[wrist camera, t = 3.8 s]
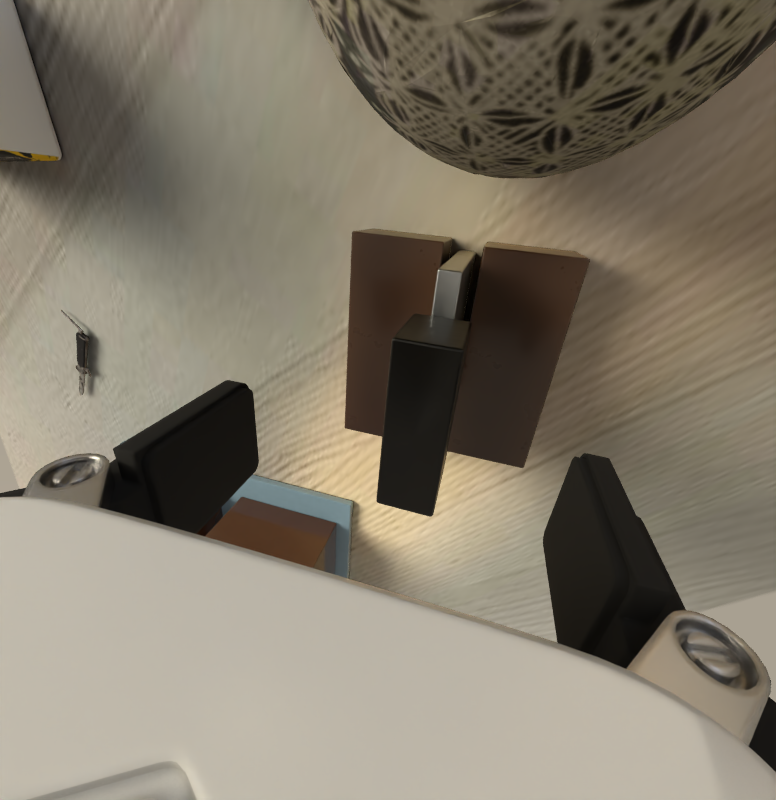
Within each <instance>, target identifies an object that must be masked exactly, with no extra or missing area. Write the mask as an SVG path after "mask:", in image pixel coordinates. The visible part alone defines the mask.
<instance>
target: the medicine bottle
mask: <svg viewBox="0 0 776 800" xmlns="http://www.w3.org/2000/svg"><path fill="white" fill-rule="evenodd" d="M61 157H62V153H61V150H60V147H59V144H58V140H57V137H56V134H55V131H54V128H53V125H52V121H51V118H50V115H49V112H48V109H47V106H46V102H45V99H44V96H43V93H42V90H41V86H40V83H39V80H38V77H37V74H36V71H35V67H34V64H33V61H32V58H31V55H30V52H29V48H28V45H27V42H26V39H25V36H24V33H23V29H22V26H21V23H20V20H19V17H18V14H17V10H16V7H15V4H14V1H13V0H0V161H57V160H60V159H61Z"/></svg>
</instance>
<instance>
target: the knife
mask: <svg viewBox="0 0 776 800" xmlns="http://www.w3.org/2000/svg"><path fill="white" fill-rule="evenodd" d="M61 312H62V313H63V314H64V315H65V316H66V317H67V318H68V319H69V320H70V321H71V322H72V323H73V324H74V325H75V326H76V327H77V328H78V329H79V330H78V333H76V340H77V361H78V366H76V369H77V370H78V372H79V373H80V376H79V392H80V395H82V394H83V393H84V383H85V374H87V373H88V374H89V376H90V377H91V374H90V372H89V370H88V368H87V357H88V340H89V338H88V337H87V335H85V334H84V333H83V330H82V329H81V328H80V327H79V326H78V325H77V324H76V323H75V322H73V321H72V320H71V319H70V318H69V317H68V316H67V315H66V314H65V313H64V312H63V311H62V310H61Z"/></svg>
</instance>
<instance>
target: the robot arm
mask: <svg viewBox="0 0 776 800" xmlns="http://www.w3.org/2000/svg"><path fill="white" fill-rule="evenodd" d="M113 450H114V454H115V457H116V459H115V460H114V461H112V462H111V463H109V460H108V459H107V458H106V457H105V456H102V455H99V454H91V453H87V454H77V455H72V456H68V457H64V458H62V459H59V460H56V461H54V462H52V463H50V464H48V465H46V466H44V467H43V468H41V469H40V470H38V471H37V472H36V473H35V474H34V476H33V477H32V478H31V480H30V482H29V484H28V486H27V488H23V489H18V490H13V491H9V492H4V493H0V800H776V702H774V701H773V700H772V699H771V698H770V697H769V695H770V689H771V680H770V677H769V675H768V672H767V670H766V667H765V666H764V664H763V663H762V661H761V660H760V658H759V657H758V656H757V654H756V653H755V652H754V651H753V650H752V649H751V648H750V647H749V646H748V645H747V643H746V642H745V641H744V640H743V639H741V638H740V637H739V636H738V635H736V634H735V633H734V632H733V631H731V630H730V629H729V628H727V627H725V626H724V625H722V624H721V623H719V622H717V621H716V620H714V619H712V618H710V617H707V616H705V615H703V614H700V613H697V612H692V611H687V610H686V609H685V607H684V605H683V603H682V601H681V599H680V597H679V595H678V593H677V591H676V589H675V587H674V585H673V582H672V580H671V578H670V576H669V574H668V572H667V570H666V568H665V566H664V564H663V562H662V560H661V558H660V556H659V554H658V552H657V550H656V547H655V545H654V543H653V541H652V539H651V537H650V535H649V533H648V531H647V529H646V527H645V525H644V523H643V521H642V520H641V518H639V517H638V516H636V514H635V512H634V510H633V507H632V505H631V503H630V501H629V499H628V497H627V495H626V493H625V491H624V488H623V486H622V484H621V482H620V480H619V478H618V476H617V474H616V472H615V469H614V467H613V465H612V463H611V461H610V459H609V458H606V457H601V456H596V455H591V454H586V453H584V454H583V455H582V456H581V457H580V458H579V457H574V458H573V460H572V462H571V464H570V467H569V469H568V472H567V475H566V477H565V480H564V482H563V485H562V488H561V490H560V493H559V495H558V498H557V501H556V503H555V506H554V508H553V511H552V514H551V516H550V519H549V521H548V524H547V527H546V529H545V532H544V537H543V547H544V553H545V560H546V567H547V574H548V581H549V588H550V594H551V601H552V608H553V615H554V622H555V629H556V635H557V642H558V643H557V642H554V641H550V640H547V639H544V638H541V637H538V636H535V635H532V634H528V633H525V632H522V631H519V630H516V629H513V628H509V627H506V626H503V625H500V624H497V623H494V622H491V621H487V620H484V619H481V618H478V617H475V616H471V615H468V614H465V613H461V612H458V611H455V610H451V609H448V608H445V607H441V606H438V605H435V604H431V603H428V602H425V601H421V600H418V599H415V598H411V597H408V596H405V595H401V594H398V593H395V592H391V591H388V590H385V589H381V588H378V587H375V586H372V585H368V584H365V583H361V582H358V581H355V580H351V579H348V578H344V577H341V576H338V575H334V574H331V573H328V572H324V571H321V570H317V569H314V568H311V567H307V566H304V565H300V564H297V563H294V562H290V561H287V560H283V559H280V558H277V557H273V556H270V555H266V554H263V553H260V552H256V551H253V550H249V549H246V548H242V547H239V546H235V545H232V544H228V543H225V542H222V541H218V540H215V539H211V538H208V537H204V536H201V535H197V533H198V532H199V531H200V530H201V529H202V527H203V526H204V525H205V524H206V523H207V522H208V521H209V520H210V519H211V518H212V517H213V516H214V515H215V514H216V513H217V512H218V511H219V509H220V508H221V507H222V506H223V505H224V504H225V503H226V502H227V501H228V500H229V499H230V498H231V497H232V496H233V495H234V494H235V493H236V491H237V490H238V489H239V488H240V487H241V486H242V485H243V484H244V483H245V482H246V481H247V480H248V479H249V478H250V477H251V476H252V475H253V473H254V472H255V471H256V469H257V467H258V463H259V459H258V447H257V435H256V423H255V411H254V400H253V392H252V390H250V389H249V388H248V386H247V385H246V384H244V383H240V382H235V381H230V380H227V381H224V382H223V383H221V384H219V385H218V386H216V387H214V388H213V389H211V390H209V391H208V392H206V393H204V394H203V395H201V396H199V397H198V398H196V399H194V400H193V401H191V402H189V403H188V404H186V405H184V406H183V407H181V408H180V409H178V410H176V411H175V412H173V413H171V414H170V415H168V416H166V417H165V418H163V419H161V420H160V421H158V422H156V423H155V424H153V425H151V426H150V427H148V428H146V429H145V430H143V431H142V432H140V433H138V434H137V435H135V436H133V437H132V438H130V439H128V440H127V441H125V442H123V443H122V444H120V445H118V446H117V447H115V448H113Z"/></svg>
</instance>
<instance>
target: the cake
mask: <svg viewBox="0 0 776 800" xmlns="http://www.w3.org/2000/svg"><path fill="white" fill-rule="evenodd" d="M124 442H125V441H124ZM122 443H123V442H122ZM122 443H121V444H122ZM352 511H353V501H350V500H347V499H343V498H339V497H335V496H331V495H328V494H324V493H320V492H316V491H313V490H309V489H305V488H301V487H297V486H294V485H290V484H286V483H282V482H278V481H275V480H271V479H267V478H263V477H260V476H256V475H252V476H251V477H250V478H249V479H248V480H247V481H246V482H245V483H244V484H243V485H242V486H241V487H240V488H239V489H238V490H237V491H236V493H235V494H234V495H233V496H232V497H231V498H230V499H229V500H228V501H227V502H226V503H225V504H224V505H223V506H222V507H221V508H220V509H219V511H218V512H217V513H216V514H215V515H214V516H213V517H212V518H211V519H210V520H209V521H208V522H207V523H206V524H205V525H204V526H203V527H202V529H201V530H200V531H199V532H198V533H197V535H201V536H204V537H208V538H211V539H215V540H218V541H222V542H225V543H228V544H232V545H235V546H239V547H242V548H246V549H249V550H253V551H256V552H260V553H263V554H266V555H270V556H273V557H277V558H280V559H283V560H287V561H290V562H294V563H297V564H300V565H304V566H307V567H311V568H314V569H317V570H321V571H324V572H328V573H331V574H334V575H338V576H341V577H344V578H348V579H349V564H350V546H351V529H352Z"/></svg>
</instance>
